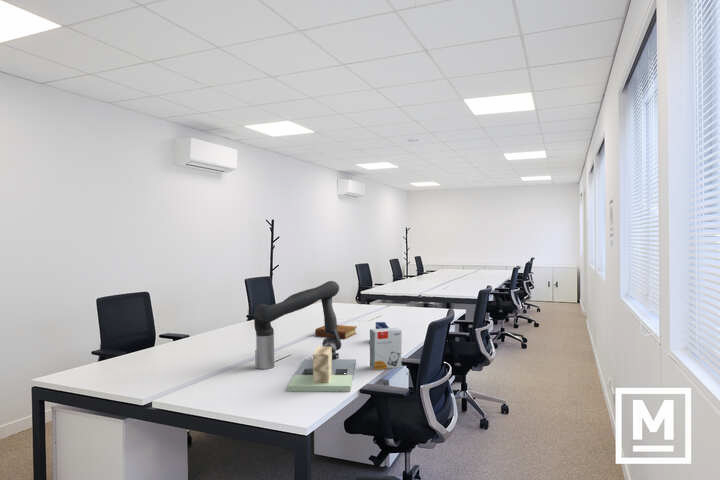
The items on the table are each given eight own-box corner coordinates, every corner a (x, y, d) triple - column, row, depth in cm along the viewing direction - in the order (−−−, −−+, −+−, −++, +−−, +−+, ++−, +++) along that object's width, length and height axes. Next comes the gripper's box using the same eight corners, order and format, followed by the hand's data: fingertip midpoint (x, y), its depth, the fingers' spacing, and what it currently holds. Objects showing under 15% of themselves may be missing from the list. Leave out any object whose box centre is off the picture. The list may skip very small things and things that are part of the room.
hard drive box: (373, 370, 236) (373, 331, 235) (369, 366, 243) (369, 329, 243) (402, 367, 240) (401, 329, 240) (397, 364, 247) (396, 327, 247)
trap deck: (288, 391, 206) (288, 385, 206) (304, 363, 250) (304, 359, 249) (350, 391, 204) (350, 386, 204) (356, 363, 248) (356, 359, 248)
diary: (315, 337, 317) (315, 329, 317) (328, 332, 334) (328, 324, 334) (345, 339, 308) (344, 331, 308) (356, 334, 325) (356, 326, 325)
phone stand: (394, 344, 292) (394, 325, 292) (376, 344, 292) (375, 325, 292) (393, 339, 304) (393, 321, 304) (375, 340, 304) (375, 322, 304)
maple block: (313, 382, 209) (312, 354, 209) (317, 373, 224) (317, 346, 224) (328, 382, 209) (328, 354, 209) (332, 373, 224) (331, 346, 224)
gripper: (315, 344, 241) (310, 352, 224) (340, 344, 241) (337, 352, 224) (316, 358, 242) (311, 368, 224) (341, 358, 241) (338, 368, 224)
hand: (324, 360), depth 224 cm, fingers closed
